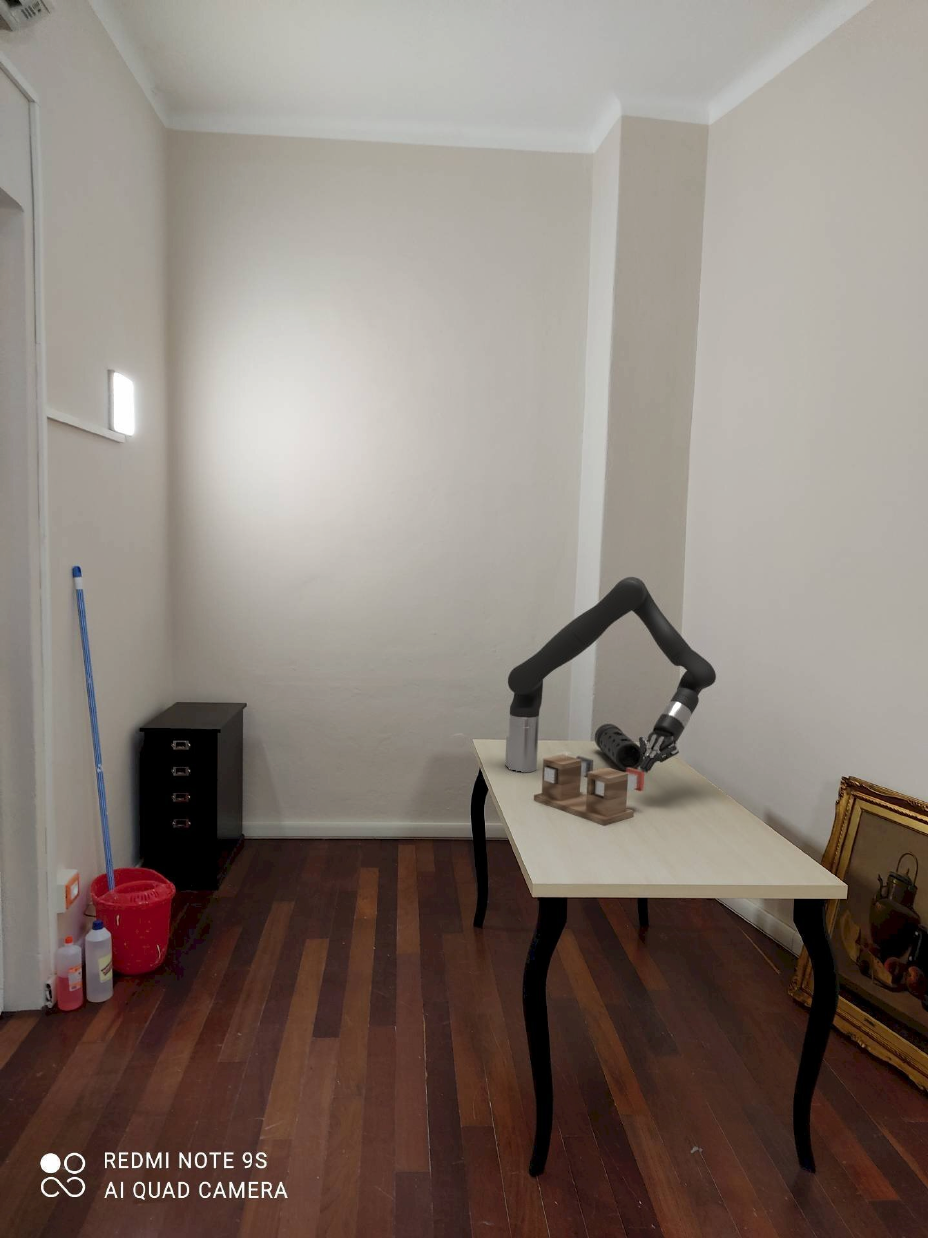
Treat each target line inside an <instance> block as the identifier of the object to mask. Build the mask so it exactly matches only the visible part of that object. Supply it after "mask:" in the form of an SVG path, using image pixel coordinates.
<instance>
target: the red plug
mask: <svg viewBox="0 0 928 1238" xmlns="http://www.w3.org/2000/svg"><path fill="white" fill-rule="evenodd" d="M624 772H625V771H624ZM625 773H628V786H627V792H628V791H633V790H635V791H638V792H643V791H645V790H644V789H645V788H644V786H645V773H646V772H643V771H642V770H641V769H640V770H639V769H633V768H626V772H625ZM595 794H598V795H601V796H604V783H603V782H600V781H596V780H595Z"/></svg>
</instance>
